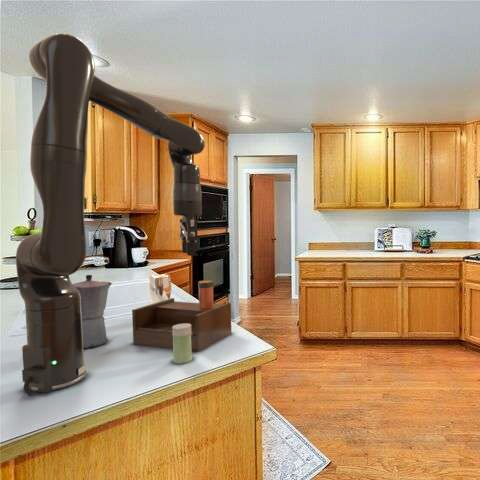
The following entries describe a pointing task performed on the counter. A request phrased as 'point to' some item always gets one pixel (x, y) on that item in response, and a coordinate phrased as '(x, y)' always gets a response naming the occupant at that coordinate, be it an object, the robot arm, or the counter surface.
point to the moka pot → (93, 310)
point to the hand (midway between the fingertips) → (188, 254)
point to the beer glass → (159, 288)
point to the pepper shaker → (205, 294)
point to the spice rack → (172, 313)
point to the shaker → (182, 343)
